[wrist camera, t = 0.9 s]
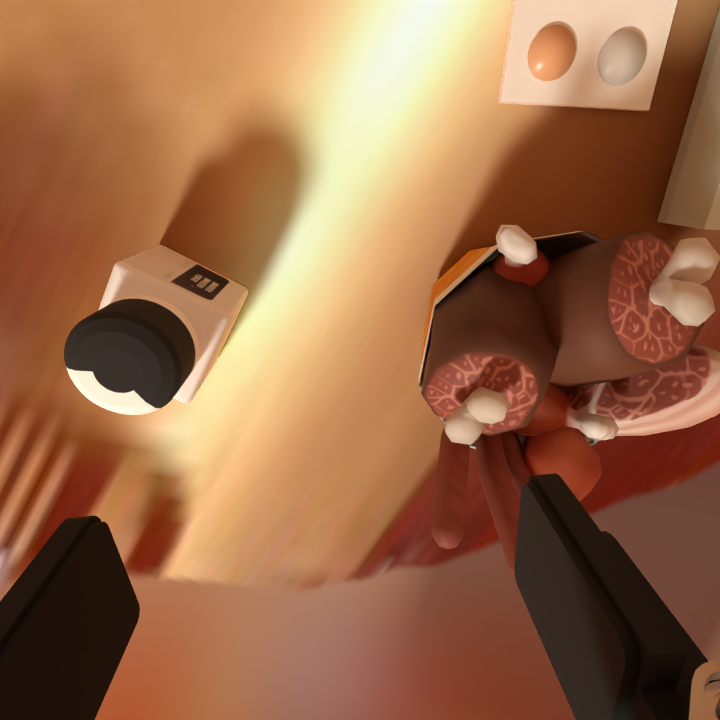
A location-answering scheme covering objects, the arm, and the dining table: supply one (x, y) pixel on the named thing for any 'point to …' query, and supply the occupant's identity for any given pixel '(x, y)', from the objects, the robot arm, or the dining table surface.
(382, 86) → the dining table surface
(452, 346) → the bucket of meat
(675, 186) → the board
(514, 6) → the pattern tile
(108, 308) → the container
